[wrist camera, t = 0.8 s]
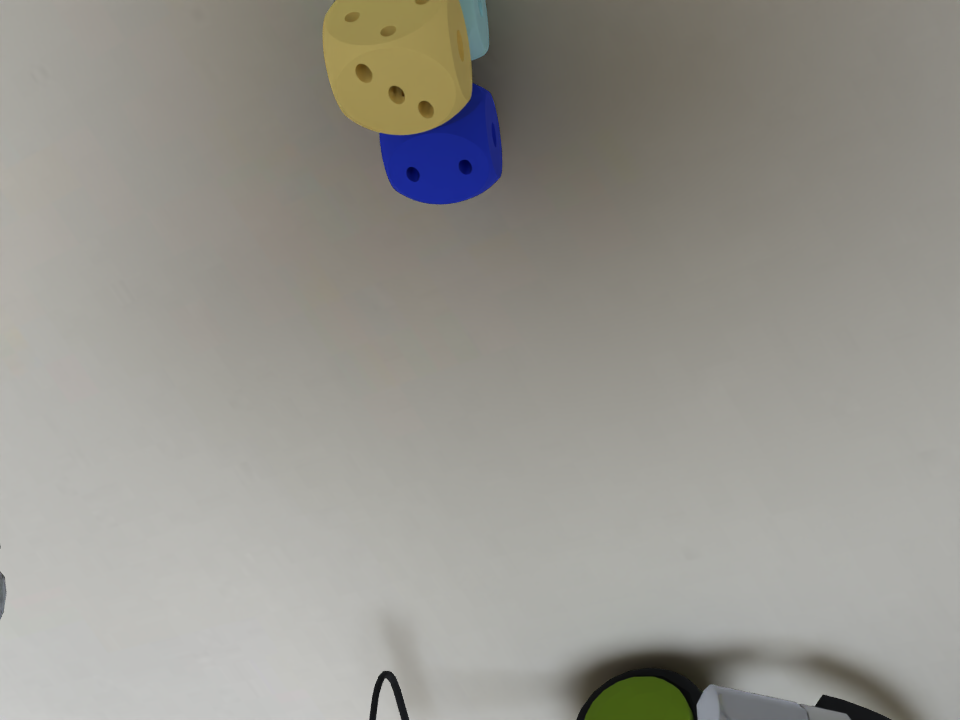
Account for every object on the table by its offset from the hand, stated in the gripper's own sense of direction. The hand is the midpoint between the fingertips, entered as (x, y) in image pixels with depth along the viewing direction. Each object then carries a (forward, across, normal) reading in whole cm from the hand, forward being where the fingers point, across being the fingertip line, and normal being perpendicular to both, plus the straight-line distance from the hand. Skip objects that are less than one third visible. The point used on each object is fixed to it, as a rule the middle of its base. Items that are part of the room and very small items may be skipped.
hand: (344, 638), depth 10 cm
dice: (+18, +2, -4) cm, 18 cm away
